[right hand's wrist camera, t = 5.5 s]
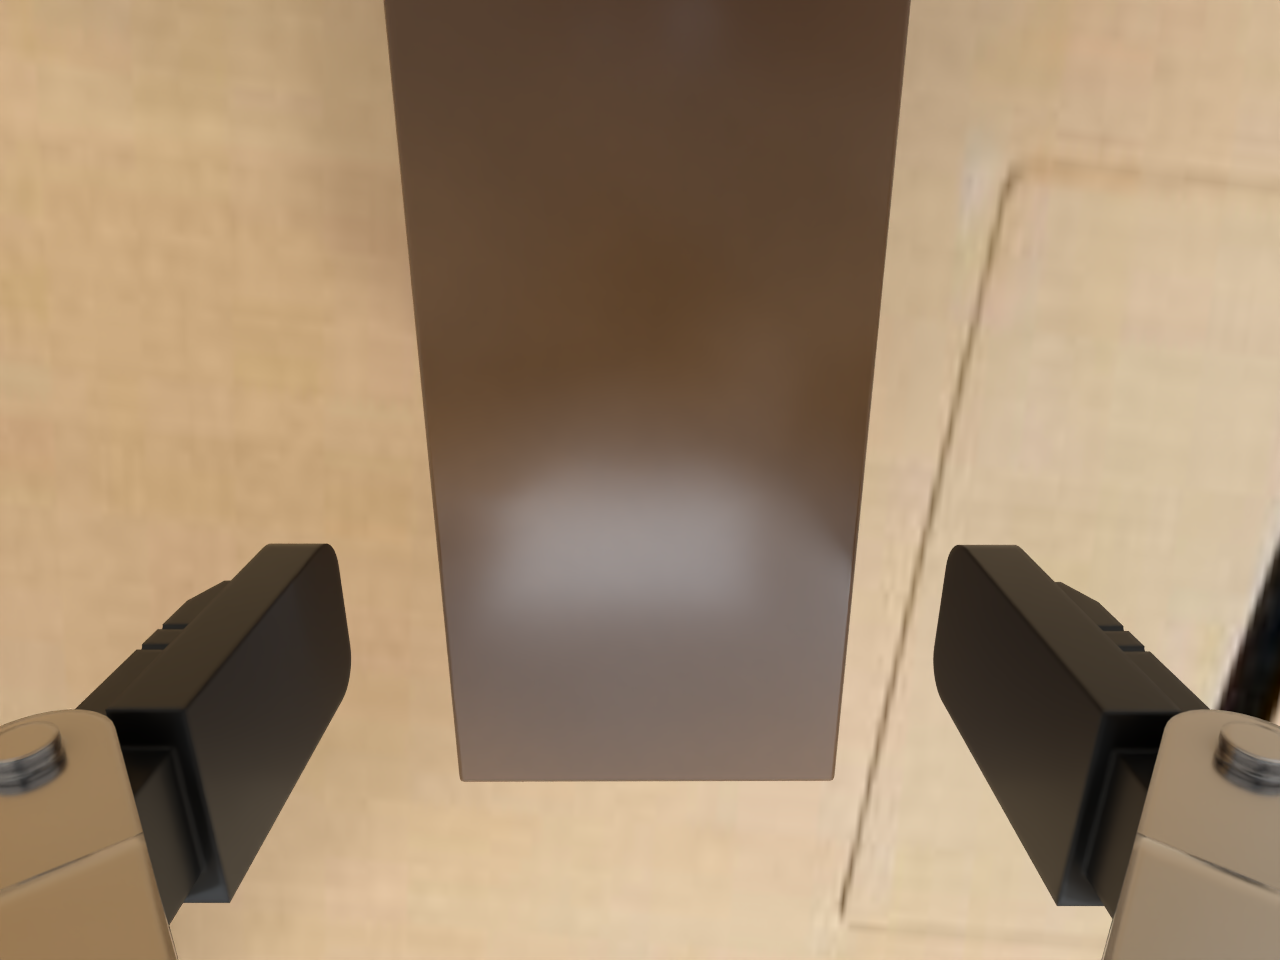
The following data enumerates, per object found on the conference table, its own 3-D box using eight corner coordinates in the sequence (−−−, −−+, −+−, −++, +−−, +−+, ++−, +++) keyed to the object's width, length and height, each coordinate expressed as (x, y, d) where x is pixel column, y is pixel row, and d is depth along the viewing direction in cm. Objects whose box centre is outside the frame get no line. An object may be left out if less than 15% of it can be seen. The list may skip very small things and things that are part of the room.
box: (747, 505, 24) (835, 782, 13) (540, 506, 24) (458, 783, 13) (793, -505, 16) (1092, -1804, 6) (491, -504, 16) (205, -1801, 6)
